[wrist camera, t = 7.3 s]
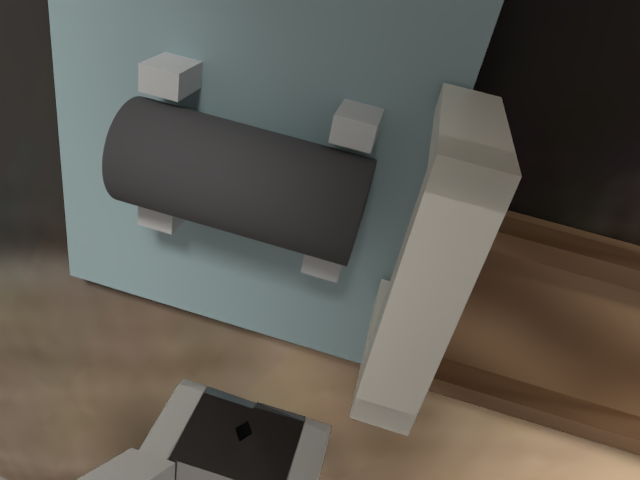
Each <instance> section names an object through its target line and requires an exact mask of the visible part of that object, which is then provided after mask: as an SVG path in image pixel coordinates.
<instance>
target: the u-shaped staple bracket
mask: <svg viewBox="0 0 640 480" xmlns="http://www.w3.org/2000/svg"><path fill="white" fill-rule="evenodd" d="M521 178H522V175H521V171H520V167H519V163H518V160H517V156H516V152H515V148H514V144H513V140H512V136H511V132H510V128H509V124H508V121H507V117H506V113H505V109H504V105H503V101H502V97H499V96H495V95H491V94H487V93H483V92H479V91H475V90H471V89H467V88H463V87H459V86H455V85H451V84H447V83H443V86H442V89H441V92H440V95H439V98H438V102H437V105H436V108H435V112H434V120H433V127H432V135H431V143H430V151H429V159H428V167H427V171H426V174H425V177H424V180H423V183H422V186H421V189H420V192H419V195H418V198H417V201H416V204H415V207H414V210H413V213H412V216H411V219H410V222H409V225H408V228H407V231H406V234H405V237H404V241H403V244H402V247H401V250H400V253H399V256H398V259H397V262H396V265H395V268H394V271H393V274H392V277H391V280H390V281H388V280H384V279H381V282H380V285H379V288H378V291H377V294H376V298H375V302H374V307H373V311H372V316H371V320H370V325H369V329H368V334H367V338H366V343H365V347H364V352H363V356H362V361H361V365H360V370H359V374H358V379H357V383H356V388H355V392H354V396H353V401H352V405H351V410H350V414H349V418H351V419H354V420H358V421H361V422H364V423H367V424H370V425H374V426H377V427H380V428H383V429H386V430H389V431H393V432H396V433H399V434H402V435H405V436H408V435H409V433H410V431H411V428H412V426H413V424H414V422H415V419H416V417H417V415H418V412H419V410H420V408H421V406H422V403H423V401H424V399H425V396H426V394H427V392H428V390H429V387H430V385H431V383H432V381H433V378H434V376H435V374H436V371H437V369H438V367H439V365H440V362H441V360H442V358H443V355H444V353H445V351H446V349H447V346H448V344H449V342H450V339H451V337H452V335H453V333H454V330H455V328H456V326H457V324H458V321H459V319H460V317H461V314H462V312H463V310H464V308H465V305H466V303H467V301H468V298H469V296H470V294H471V292H472V289H473V287H474V285H475V283H476V280H477V278H478V276H479V273H480V271H481V269H482V267H483V264H484V262H485V260H486V257H487V255H488V253H489V251H490V248H491V246H492V244H493V241H494V239H495V237H496V235H497V232H498V230H499V228H500V226H501V223H502V221H503V219H504V216H505V214H506V212H507V210H508V207H509V205H510V203H511V200H512V198H513V196H514V194H515V191H516V189H517V187H518V185H519V182H520V180H521Z"/></svg>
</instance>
